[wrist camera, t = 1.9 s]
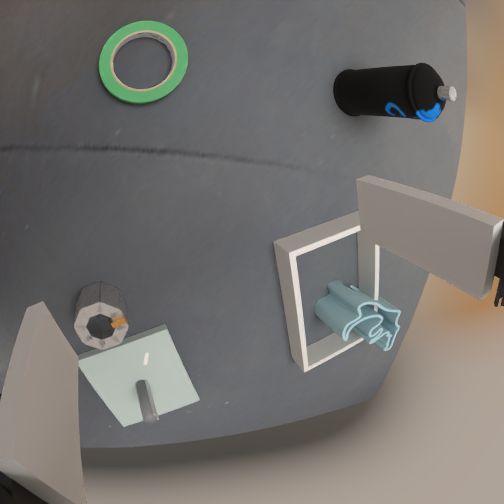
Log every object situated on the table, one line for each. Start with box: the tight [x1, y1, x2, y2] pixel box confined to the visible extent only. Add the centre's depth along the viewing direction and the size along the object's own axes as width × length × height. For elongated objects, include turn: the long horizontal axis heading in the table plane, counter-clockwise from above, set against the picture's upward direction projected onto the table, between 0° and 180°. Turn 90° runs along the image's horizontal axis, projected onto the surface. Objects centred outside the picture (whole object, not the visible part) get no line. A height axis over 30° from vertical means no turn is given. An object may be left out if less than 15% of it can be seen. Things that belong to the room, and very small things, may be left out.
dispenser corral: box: [273, 210, 379, 372], centre depth 57 cm, size 18×26×5 cm
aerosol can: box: [334, 63, 457, 122], centre depth 39 cm, size 8×8×20 cm
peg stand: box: [77, 324, 200, 427], centre depth 46 cm, size 16×18×10 cm
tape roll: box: [99, 21, 188, 104], centre depth 33 cm, size 11×11×3 cm
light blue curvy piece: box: [315, 280, 401, 351], centre depth 61 cm, size 18×10×9 cm, turn 66°
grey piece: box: [74, 281, 129, 350], centre depth 40 cm, size 7×7×7 cm
